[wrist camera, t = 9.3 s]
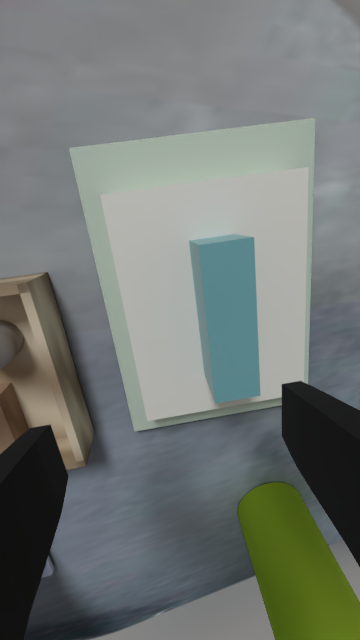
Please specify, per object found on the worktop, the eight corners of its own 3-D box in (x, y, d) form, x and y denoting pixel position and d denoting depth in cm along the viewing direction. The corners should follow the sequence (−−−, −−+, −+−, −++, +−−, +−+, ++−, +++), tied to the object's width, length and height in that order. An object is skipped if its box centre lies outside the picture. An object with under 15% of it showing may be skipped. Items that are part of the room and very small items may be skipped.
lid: (290, 379, 20) (331, 423, 16) (147, 404, 20) (147, 458, 15) (291, 172, 16) (348, 153, 11) (105, 197, 15) (87, 187, 11)
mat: (303, 395, 22) (307, 400, 21) (134, 425, 21) (134, 431, 20) (309, 121, 16) (315, 117, 15) (72, 150, 15) (69, 148, 14)
